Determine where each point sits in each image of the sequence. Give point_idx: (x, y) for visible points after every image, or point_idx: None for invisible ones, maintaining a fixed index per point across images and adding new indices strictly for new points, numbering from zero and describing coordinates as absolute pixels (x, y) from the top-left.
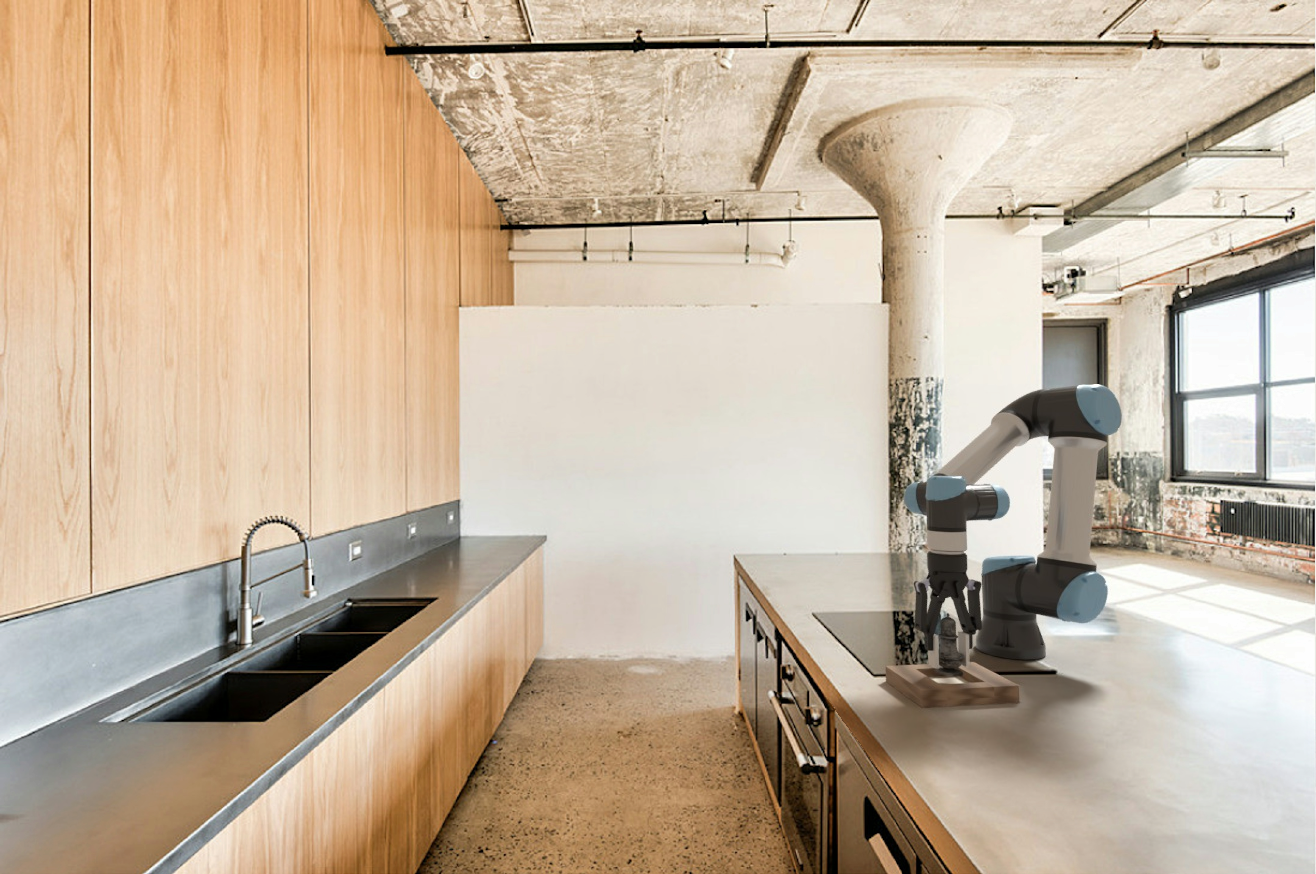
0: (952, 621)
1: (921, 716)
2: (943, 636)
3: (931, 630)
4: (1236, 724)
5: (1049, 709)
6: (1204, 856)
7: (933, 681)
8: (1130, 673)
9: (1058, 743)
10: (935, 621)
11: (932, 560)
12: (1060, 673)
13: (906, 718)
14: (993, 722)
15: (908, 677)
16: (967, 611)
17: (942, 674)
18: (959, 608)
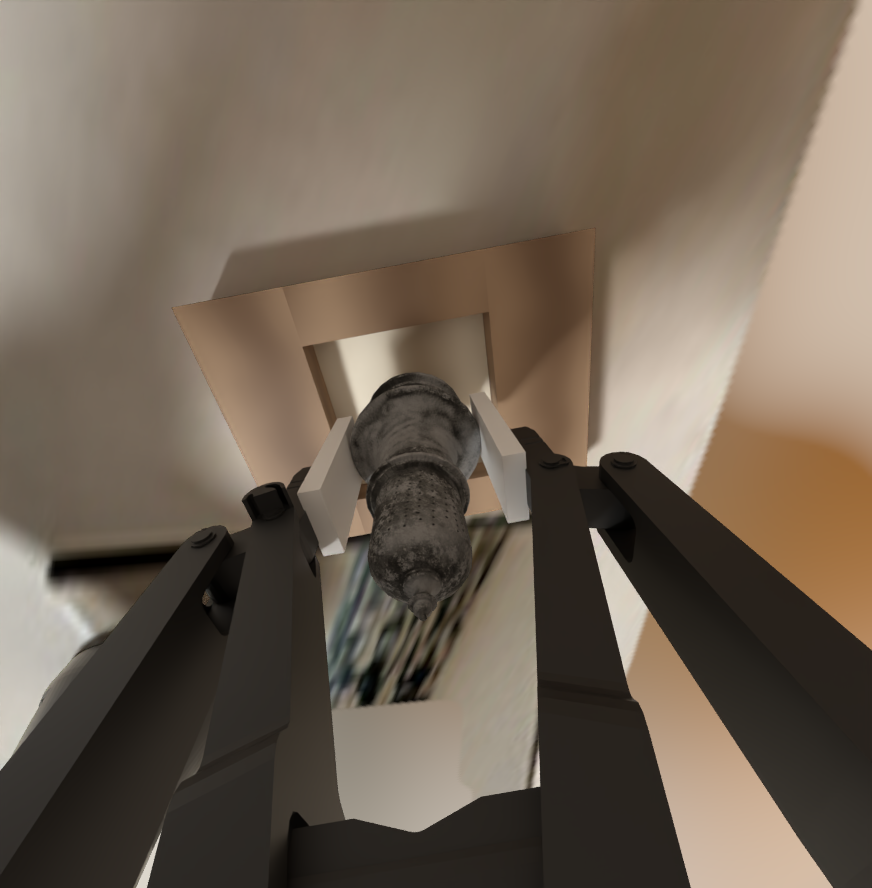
0: (403, 534)
1: (611, 138)
2: (456, 477)
3: (559, 467)
4: None
5: (109, 229)
6: None
7: (499, 346)
8: None
9: None
10: (551, 512)
11: None
12: (36, 561)
13: (675, 113)
14: (365, 59)
15: (568, 387)
16: (234, 632)
17: (452, 388)
18: (304, 669)
